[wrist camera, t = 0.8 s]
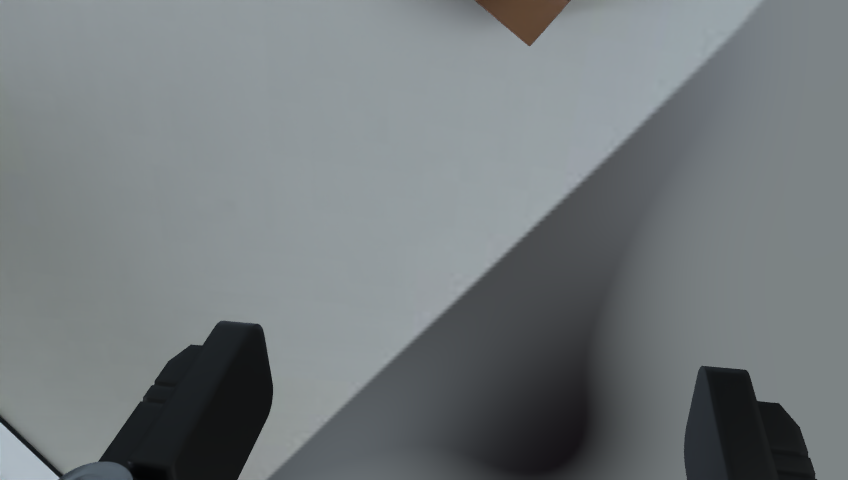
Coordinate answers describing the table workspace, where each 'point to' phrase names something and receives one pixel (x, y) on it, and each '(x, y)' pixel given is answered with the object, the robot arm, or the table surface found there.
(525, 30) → the spatula
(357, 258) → the table surface
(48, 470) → the laminator
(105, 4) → the table surface
